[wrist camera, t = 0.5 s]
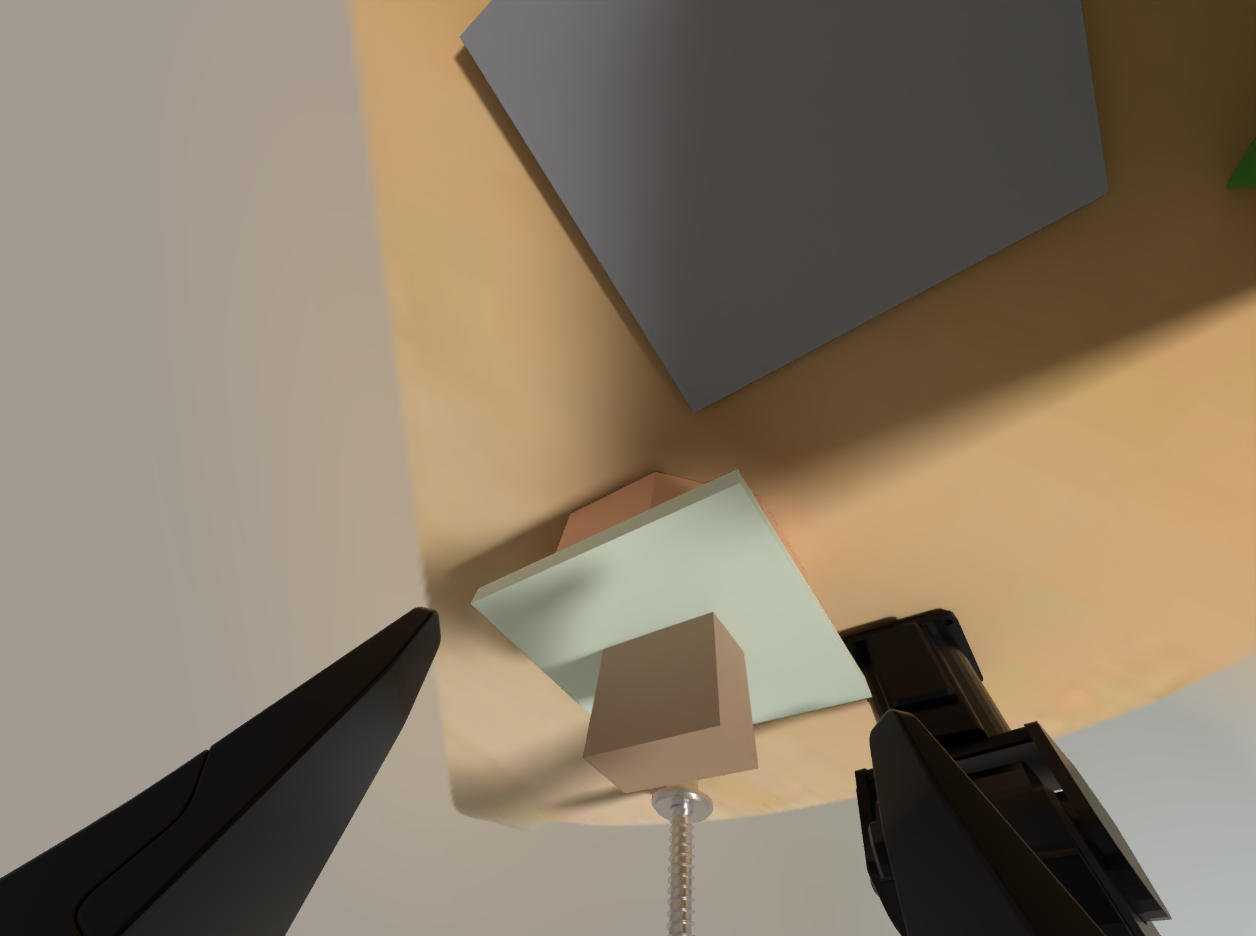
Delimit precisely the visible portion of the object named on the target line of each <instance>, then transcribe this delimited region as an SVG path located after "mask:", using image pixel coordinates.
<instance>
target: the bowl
mask: <svg viewBox="0 0 1256 936" xmlns="http://www.w3.org/2000/svg"><path fill="white" fill-rule="evenodd" d="M703 484H705V483H701V482H697V481H692V480H688V479H684V478H679V477H675V476H671V475H667V474H662V473H658V472H653V473H651V474H649V475H647V476H645V477H643V478H641V479H639V480H637V481H635V482H633V483H631V484H629V485H627V486H625V487H623V488H621V489H619V490H617V491H615V492H613V493H611V494H609V495H607V496H605V497H603V498H601V499H599V500H597V501H595V502H593V503H591V504H589V505H587V506H585V507H583V508H581V509H579V510H577V511H575V512H573V513H571V514H570V516H569V519H568V521H567V524H566V527H565V529H564V532H563V535H562V537H561V540H560V543H559V545H558V548H557V551H556V552H558V551H560V550H562V549H565V548H567V547H569V546H571V545H573V544H575V543H578V542H580V541H582V540H584V539H586V538H588V537H591V536H593V535H595V534H597V533H599V532H601V531H604V530H606V529H608V528H610V527H612V526H614V525H617V524H619V523H621V522H623V521H625V520H627V519H630V518H632V517H634V516H636V515H638V514H640V513H643V512H645V511H647V510H649V509H651V508H653V507H656V506H658V505H660V504H662V503H664V502H666V501H669V500H671V499H673V498H675V497H677V496H679V495H682V494H684V493H686V492H688V491H690V490H692V489H695V488H697V487H699V486H701V485H703ZM754 497H755V498H756V500H757V502H758V503H759V505H760V506H761V508H762V510H763V511H764V513H765V515H766V516H767V518H768V520H769V521H770V523H771V524H772V526H773V528H774V529H775V531H776V533H777V534H778V536H779V538H780V539H781V541H782V542H783V544H784V546H785V547H786V549H787V551H788V552H789V554H790V556H791V557H792V559H793V561H794V562H795V564H796V565H797V567H798V569H799V570H800V572H801V574H802V575H803V577H804V579H805V580H806V582H807V583H808V581H807V578H806V575H805V572H804V569H803V567H802V565H801V563H800V562H799V560H798V559H797V557H796V555H795V554H794V552H793V550H792V549H791V547H790V545H789V544H788V542H787V540H786V539H785V537H784V535H783V534H782V532H781V530H780V529H779V527H778V525H777V524H776V522H775V520H774V519H773V517H772V515H771V514H770V512H769V511H768V509H767V507H766V506H765V504H764V502H763V501H762V499H761V497H760V496H756V495H754ZM808 585H809V584H808Z"/></svg>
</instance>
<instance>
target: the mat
mask: <svg viewBox="0 0 1256 936" xmlns="http://www.w3.org/2000/svg"><path fill="white" fill-rule="evenodd" d="M460 38H461V40H462V41H463V43H464V45H465V46H466V48H467V49H468V51H469V53H470V54H471V56H472V57H473V59H474V61H475V62H476V64H477V66H478V67H479V69H480V70H481V72H482V74H483V75H484V77H485V78H486V80H487V82H488V83H489V85H490V86H491V88H492V90H493V91H494V93H495V94H496V96H497V98H498V99H499V101H500V103H501V104H502V106H503V107H504V109H505V111H506V112H507V114H508V115H509V117H510V119H511V120H512V122H513V123H514V125H515V127H516V128H517V130H518V131H519V133H520V135H521V136H522V138H523V140H524V141H525V143H526V144H527V146H528V148H529V149H530V151H531V152H532V154H533V156H534V157H535V159H536V160H537V162H538V164H539V165H540V167H541V168H542V170H543V172H544V173H545V175H546V177H547V178H548V180H549V181H550V183H551V185H552V186H553V188H554V189H555V191H556V193H557V194H558V196H559V197H560V199H561V201H562V202H563V204H564V206H565V207H566V209H567V210H568V212H569V214H570V215H571V217H572V218H573V220H574V222H575V223H576V225H577V226H578V228H579V230H580V231H581V233H582V234H583V236H584V238H585V239H586V241H587V243H588V244H589V246H590V247H591V249H592V251H593V252H594V254H595V255H596V257H597V259H598V260H599V262H600V263H601V265H602V267H603V268H604V270H605V271H606V273H607V275H608V276H609V278H610V280H611V281H612V283H613V284H614V286H615V288H616V289H617V291H618V292H619V294H620V296H621V297H622V299H623V300H624V302H625V304H626V305H627V307H628V308H629V310H630V312H631V313H632V315H633V317H634V318H635V320H636V321H637V323H638V325H639V326H640V328H641V329H642V331H643V333H644V334H645V336H646V337H647V339H648V341H649V342H650V344H651V345H652V347H653V349H654V350H655V352H656V354H657V355H658V357H659V358H660V360H661V362H662V363H663V365H664V366H665V368H666V370H667V371H668V373H669V374H670V376H671V378H672V379H673V381H674V382H675V384H676V386H677V387H678V389H679V391H680V392H681V394H682V395H683V397H684V399H685V400H686V402H687V403H688V405H689V407H690V408H691V410H692V411H693V413H696V412H698V411H700V410H702V409H703V408H705V407H707V406H709V405H711V404H713V403H715V402H717V401H718V400H720V399H722V398H724V397H726V396H728V395H730V394H732V393H734V392H735V391H737V390H739V389H741V388H743V387H745V386H747V385H749V384H750V383H752V382H754V381H756V380H758V379H760V378H762V377H764V376H765V375H767V374H769V373H771V372H773V371H775V370H777V369H779V368H780V367H782V366H784V365H786V364H788V363H790V362H792V361H794V360H796V359H797V358H799V357H801V356H803V355H805V354H807V353H809V352H811V351H812V350H814V349H816V348H818V347H820V346H822V345H824V344H826V343H827V342H829V341H831V340H833V339H835V338H837V337H839V336H841V335H843V334H844V333H846V332H848V331H850V330H852V329H854V328H856V327H858V326H859V325H861V324H863V323H865V322H867V321H869V320H871V319H873V318H874V317H876V316H878V315H880V314H882V313H884V312H886V311H888V310H890V309H891V308H893V307H895V306H897V305H899V304H901V303H903V302H905V301H906V300H908V299H910V298H912V297H914V296H916V295H918V294H920V293H921V292H923V291H925V290H927V289H929V288H931V287H933V286H935V285H936V284H938V283H940V282H942V281H944V280H946V279H948V278H950V277H952V276H953V275H955V274H957V273H959V272H961V271H963V270H965V269H967V268H968V267H970V266H972V265H974V264H976V263H978V262H980V261H982V260H983V259H985V258H987V257H989V256H991V255H993V254H995V253H997V252H999V251H1000V250H1002V249H1004V248H1006V247H1008V246H1010V245H1012V244H1014V243H1015V242H1017V241H1019V240H1021V239H1023V238H1025V237H1027V236H1029V235H1030V234H1032V233H1034V232H1036V231H1038V230H1040V229H1042V228H1044V227H1045V226H1047V225H1049V224H1051V223H1053V222H1055V221H1057V220H1059V219H1061V218H1062V217H1064V216H1066V215H1068V214H1070V213H1072V212H1074V211H1076V210H1077V209H1079V208H1081V207H1083V206H1085V205H1087V204H1089V203H1091V202H1092V201H1094V200H1096V199H1098V198H1100V197H1102V196H1104V195H1106V194H1108V193H1109V188H1108V182H1107V175H1106V168H1105V161H1104V154H1103V147H1102V140H1101V133H1100V127H1099V120H1098V113H1097V106H1096V99H1095V92H1094V85H1093V79H1092V72H1091V65H1090V58H1089V51H1088V44H1087V37H1086V31H1085V24H1084V17H1083V10H1082V3H1081V0H492V1H491V2H490V3H489V4H488V5H487V6H486V8H485V9H484V10H483V11H482V12H481V13H480V14H479V16H478V17H477V18H476V19H475V20H474V21H473V22H472V23H471V25H470V26H469V27H468V28H467V29H466V30H465V31H464V33H463V34H462V35H461V36H460Z"/></svg>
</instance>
